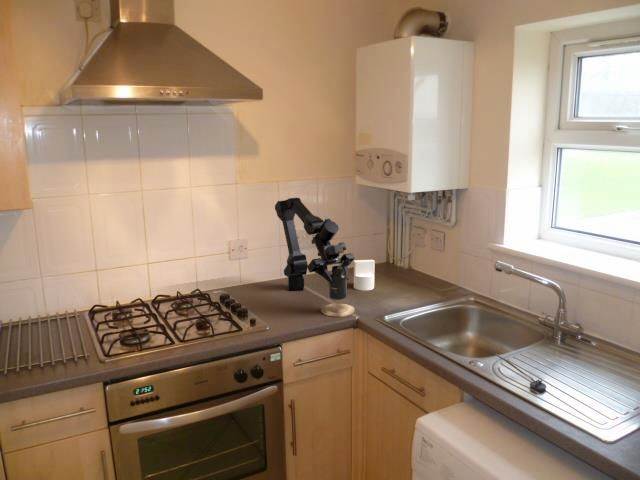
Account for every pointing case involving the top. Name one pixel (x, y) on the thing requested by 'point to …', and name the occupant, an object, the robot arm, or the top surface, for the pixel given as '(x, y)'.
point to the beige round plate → (337, 310)
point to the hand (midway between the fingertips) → (339, 281)
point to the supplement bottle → (338, 283)
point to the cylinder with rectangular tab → (364, 274)
